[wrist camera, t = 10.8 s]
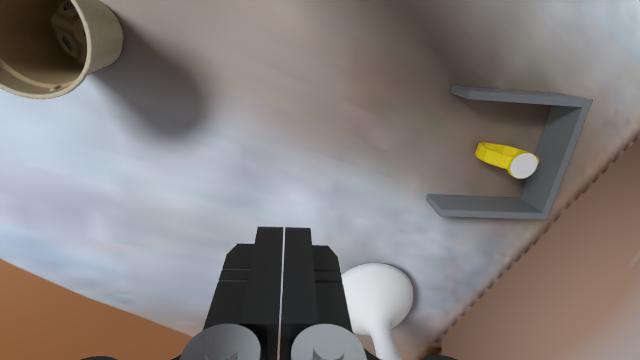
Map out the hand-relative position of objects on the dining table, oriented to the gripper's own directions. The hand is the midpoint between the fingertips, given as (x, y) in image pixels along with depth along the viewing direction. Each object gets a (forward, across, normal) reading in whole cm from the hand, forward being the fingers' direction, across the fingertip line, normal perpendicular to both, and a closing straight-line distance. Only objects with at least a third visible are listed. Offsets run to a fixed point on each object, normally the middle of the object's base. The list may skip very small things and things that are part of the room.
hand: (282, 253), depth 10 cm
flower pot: (+27, +19, -5) cm, 34 cm away
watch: (+27, -24, +4) cm, 36 cm away
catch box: (+27, -23, +4) cm, 36 cm away
